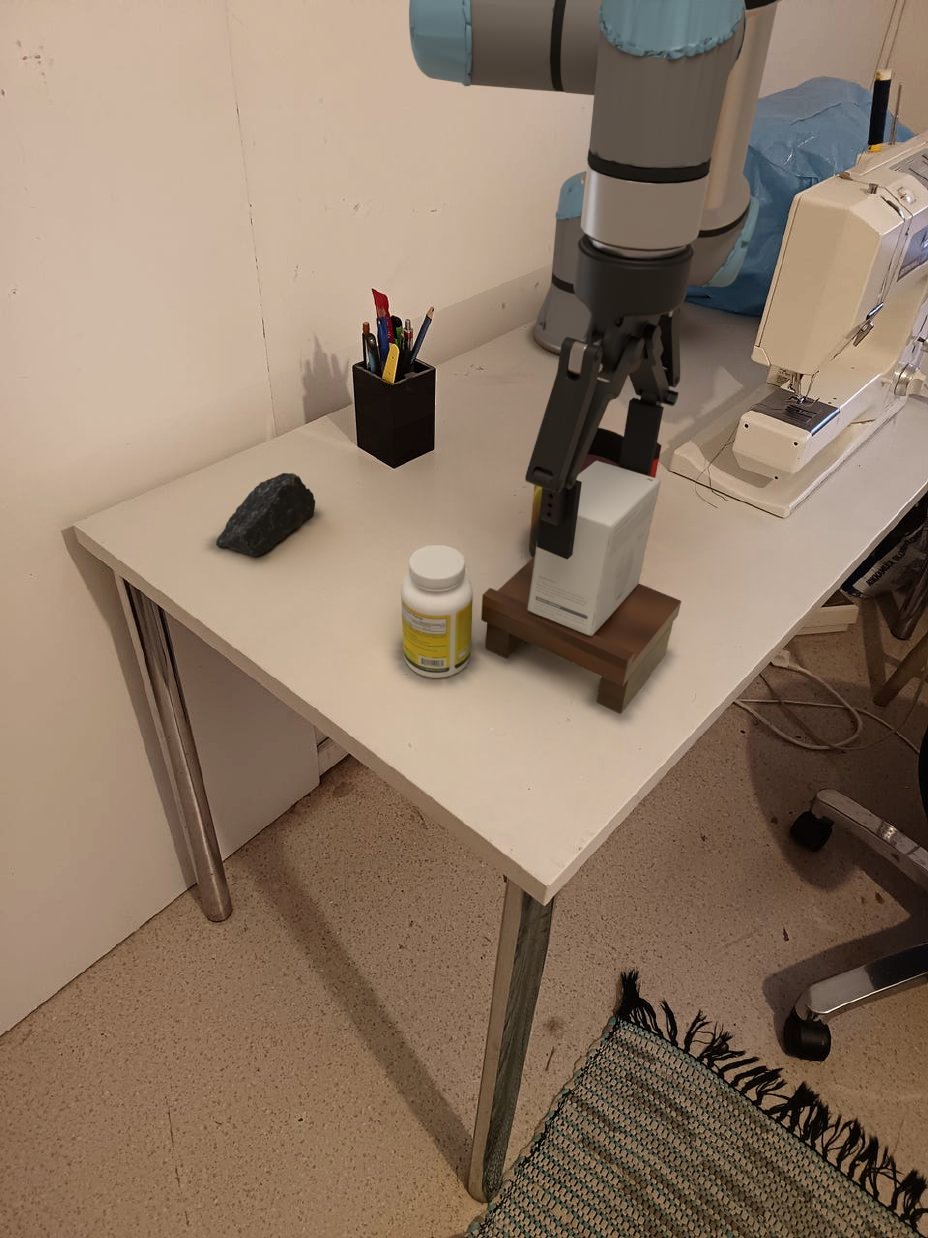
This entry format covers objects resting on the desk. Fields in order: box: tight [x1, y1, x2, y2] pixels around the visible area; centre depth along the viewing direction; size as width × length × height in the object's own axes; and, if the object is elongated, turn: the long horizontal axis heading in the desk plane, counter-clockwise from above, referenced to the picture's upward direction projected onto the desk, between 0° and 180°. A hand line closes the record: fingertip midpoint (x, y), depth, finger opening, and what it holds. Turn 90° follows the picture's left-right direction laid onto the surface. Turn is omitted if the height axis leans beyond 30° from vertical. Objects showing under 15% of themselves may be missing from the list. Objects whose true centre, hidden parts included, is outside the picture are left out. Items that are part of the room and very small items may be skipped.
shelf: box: [480, 556, 682, 715], centre depth 79 cm, size 11×14×7 cm
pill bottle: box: [400, 544, 474, 679], centre depth 76 cm, size 6×6×11 cm
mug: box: [528, 427, 662, 559], centre depth 90 cm, size 10×14×12 cm
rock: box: [215, 472, 316, 557], centre depth 92 cm, size 7×10×6 cm
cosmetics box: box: [527, 461, 662, 636], centre depth 74 cm, size 10×6×10 cm, turn 148°
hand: (596, 510), depth 71 cm, fingers open, 13 cm apart
